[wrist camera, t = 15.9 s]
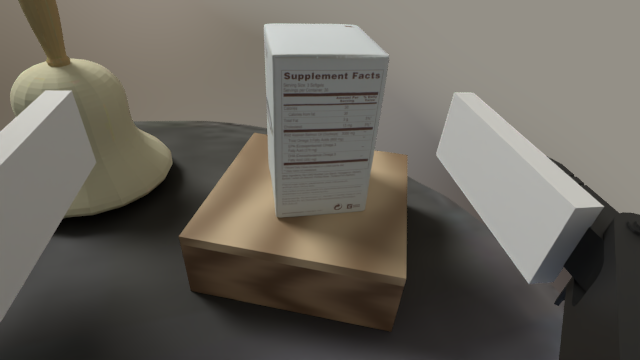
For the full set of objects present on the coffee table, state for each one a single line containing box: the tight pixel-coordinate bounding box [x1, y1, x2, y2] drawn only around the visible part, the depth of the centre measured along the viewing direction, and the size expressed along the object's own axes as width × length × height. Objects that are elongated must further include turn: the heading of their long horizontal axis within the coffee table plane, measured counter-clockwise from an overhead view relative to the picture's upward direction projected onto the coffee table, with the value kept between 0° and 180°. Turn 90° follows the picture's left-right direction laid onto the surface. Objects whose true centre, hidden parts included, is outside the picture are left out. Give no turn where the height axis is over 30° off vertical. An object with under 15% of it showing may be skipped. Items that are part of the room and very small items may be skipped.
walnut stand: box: [179, 133, 407, 332], centre depth 34 cm, size 16×16×6 cm
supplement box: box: [264, 24, 389, 218], centre depth 28 cm, size 7×7×13 cm
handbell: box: [10, 0, 173, 218], centre depth 34 cm, size 15×15×25 cm
